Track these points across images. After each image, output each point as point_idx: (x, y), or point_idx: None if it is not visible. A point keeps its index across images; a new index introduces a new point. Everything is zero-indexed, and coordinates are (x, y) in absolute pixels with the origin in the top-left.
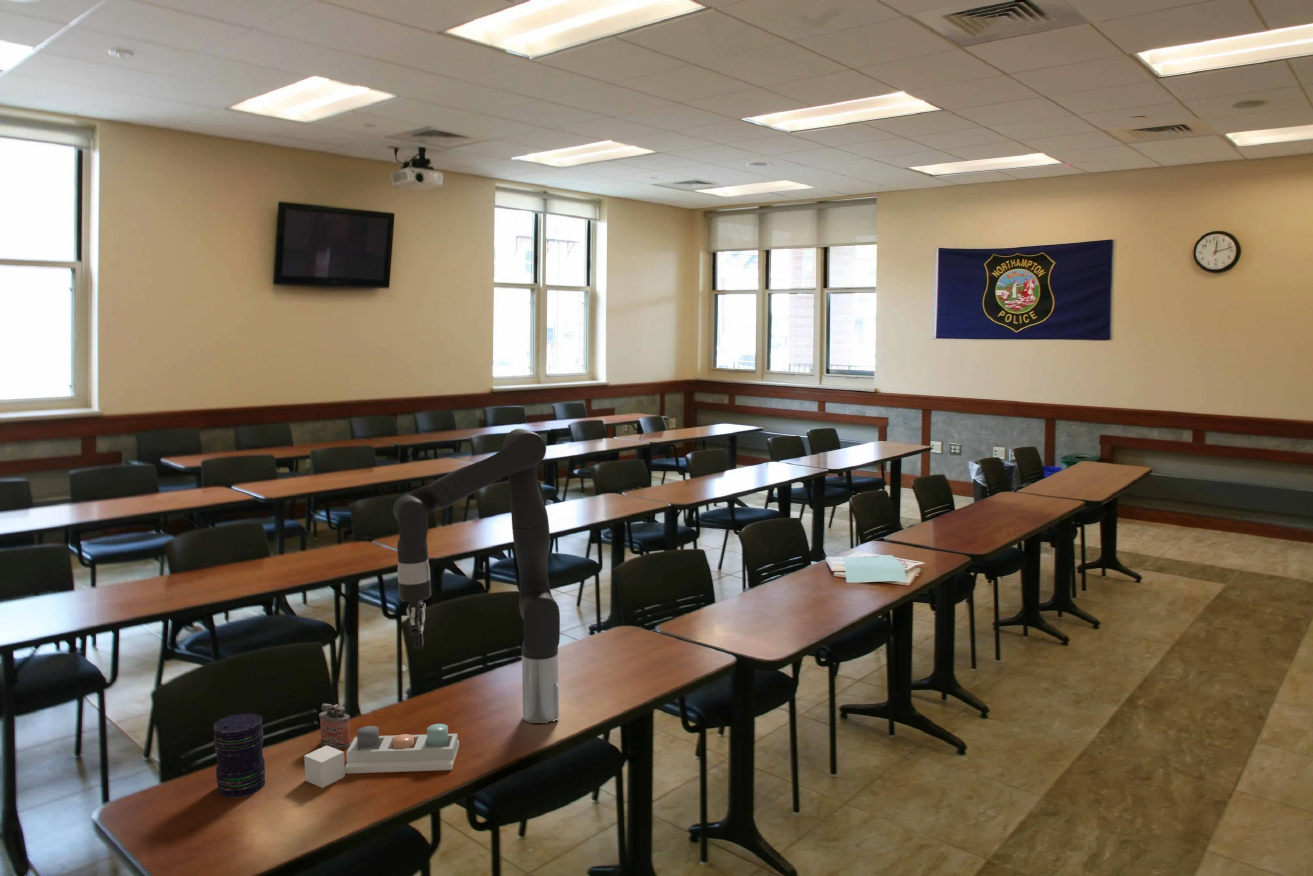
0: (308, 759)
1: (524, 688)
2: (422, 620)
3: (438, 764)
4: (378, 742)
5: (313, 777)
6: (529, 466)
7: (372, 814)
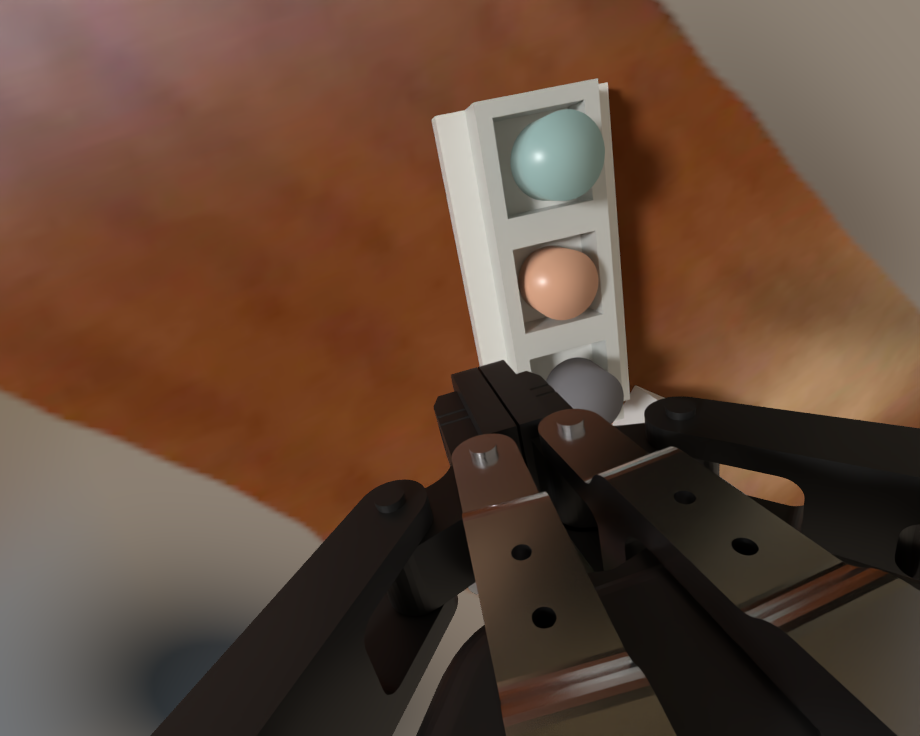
0: None
1: None
2: (728, 486)
3: (610, 131)
4: (574, 358)
5: None
6: None
7: (809, 230)
